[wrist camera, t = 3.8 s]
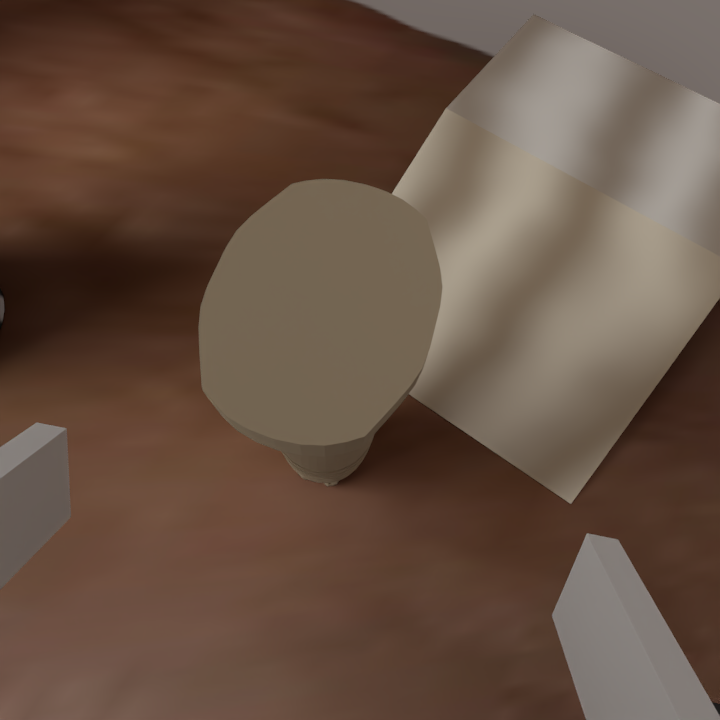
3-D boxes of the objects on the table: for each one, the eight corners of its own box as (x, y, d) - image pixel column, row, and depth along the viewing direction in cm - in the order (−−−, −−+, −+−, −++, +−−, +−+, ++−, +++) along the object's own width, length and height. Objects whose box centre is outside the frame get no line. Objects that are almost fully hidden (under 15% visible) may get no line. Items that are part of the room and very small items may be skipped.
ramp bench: (308, 340, 29) (302, 262, 21) (493, 124, 36) (533, 14, 29) (555, 508, 26) (643, 483, 18) (698, 234, 33) (798, 141, 26)
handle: (389, 407, 25) (463, 209, 12) (355, 535, 23) (398, 475, 9) (299, 381, 26) (268, 159, 12) (255, 505, 23) (151, 402, 9)
